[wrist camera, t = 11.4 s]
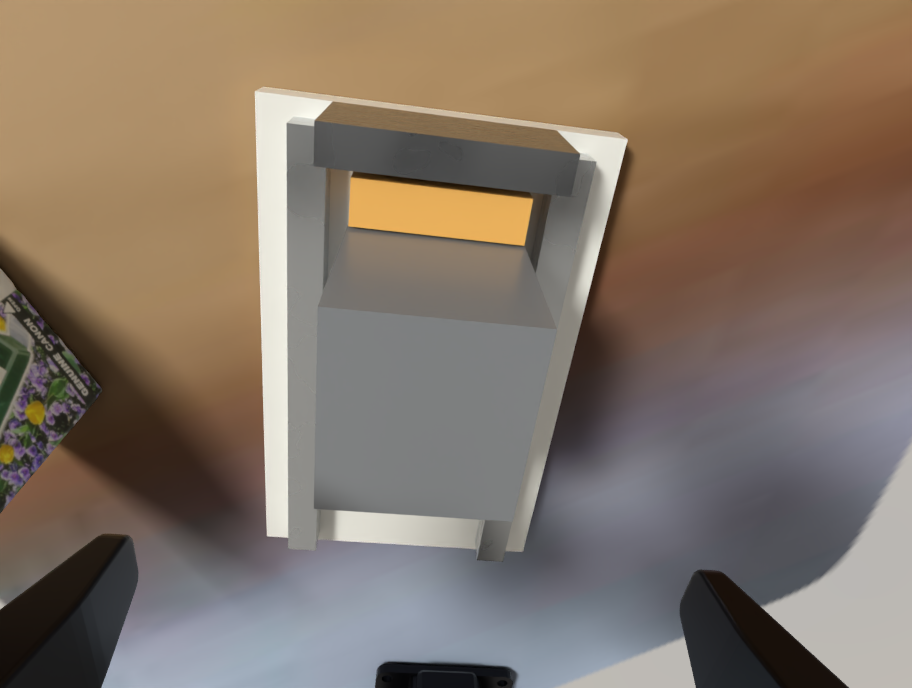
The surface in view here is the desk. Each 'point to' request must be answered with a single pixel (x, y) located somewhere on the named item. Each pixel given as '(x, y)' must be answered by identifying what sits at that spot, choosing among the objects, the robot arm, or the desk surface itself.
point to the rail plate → (319, 237)
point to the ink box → (34, 390)
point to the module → (428, 375)
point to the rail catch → (439, 208)
